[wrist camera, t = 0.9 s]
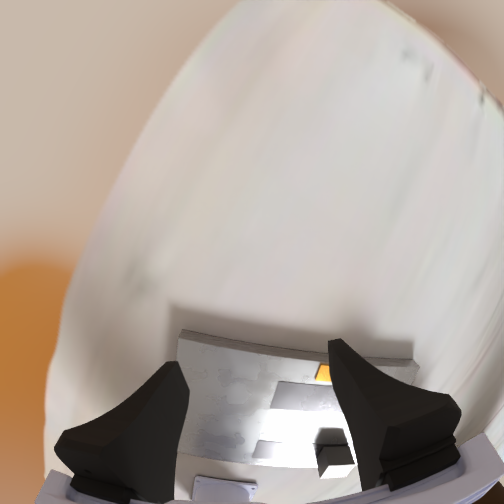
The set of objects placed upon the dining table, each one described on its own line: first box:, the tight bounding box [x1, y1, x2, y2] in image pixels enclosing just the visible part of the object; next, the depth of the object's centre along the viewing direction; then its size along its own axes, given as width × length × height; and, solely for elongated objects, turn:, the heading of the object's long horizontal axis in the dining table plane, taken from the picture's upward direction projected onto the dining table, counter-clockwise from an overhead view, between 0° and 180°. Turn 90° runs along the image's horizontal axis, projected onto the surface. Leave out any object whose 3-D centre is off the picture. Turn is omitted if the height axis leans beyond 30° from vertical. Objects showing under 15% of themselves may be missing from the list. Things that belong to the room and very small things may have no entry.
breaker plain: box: [316, 446, 356, 478], centre depth 22 cm, size 2×3×3 cm
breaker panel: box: [176, 329, 420, 467], centre depth 23 cm, size 15×22×2 cm
